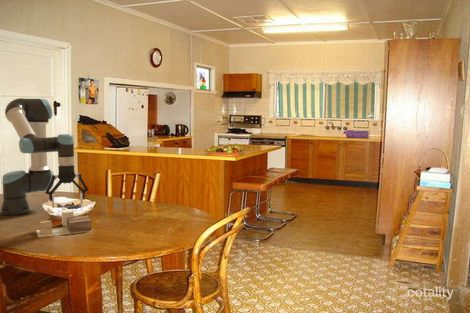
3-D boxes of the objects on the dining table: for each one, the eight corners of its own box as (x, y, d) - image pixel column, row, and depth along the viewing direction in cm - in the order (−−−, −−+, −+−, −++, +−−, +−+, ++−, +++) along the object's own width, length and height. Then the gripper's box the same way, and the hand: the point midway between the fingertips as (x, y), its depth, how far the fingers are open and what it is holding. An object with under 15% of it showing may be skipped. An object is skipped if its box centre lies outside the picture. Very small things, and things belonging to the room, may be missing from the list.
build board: (36, 231, 210) (36, 230, 210) (87, 226, 221) (87, 224, 221) (38, 238, 200) (38, 237, 199) (91, 232, 211) (91, 230, 211)
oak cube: (40, 231, 208) (39, 221, 207) (51, 230, 210) (51, 220, 209) (41, 234, 203) (40, 224, 203) (52, 233, 206) (52, 223, 205)
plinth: (67, 227, 216) (66, 217, 215) (87, 225, 220) (87, 215, 220) (69, 232, 207) (69, 222, 206) (91, 230, 212) (91, 220, 211)
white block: (62, 225, 222) (61, 210, 221) (72, 224, 224) (72, 209, 223) (63, 228, 217) (62, 212, 216) (73, 226, 220) (73, 211, 219)
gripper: (39, 167, 207) (41, 210, 210) (93, 164, 219) (94, 205, 222) (38, 165, 214) (40, 206, 216) (90, 162, 226) (91, 202, 228)
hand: (67, 206), depth 219 cm, fingers open, 13 cm apart
